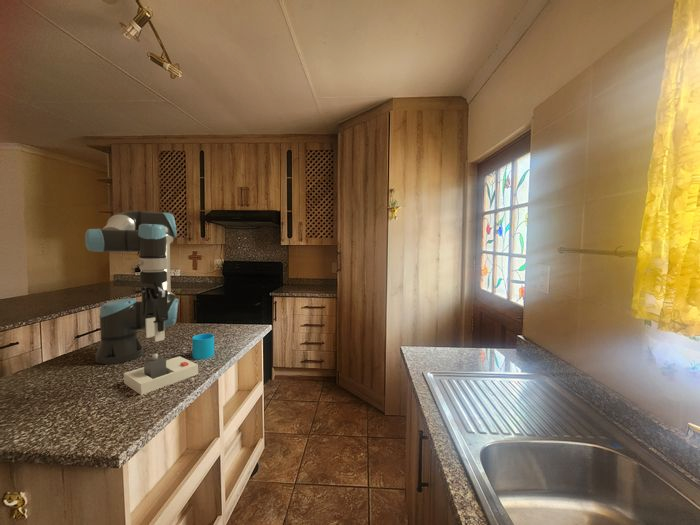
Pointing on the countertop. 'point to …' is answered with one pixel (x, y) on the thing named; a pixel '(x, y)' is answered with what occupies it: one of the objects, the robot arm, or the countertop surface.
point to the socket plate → (174, 373)
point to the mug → (203, 346)
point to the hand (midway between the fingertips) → (155, 338)
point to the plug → (155, 366)
